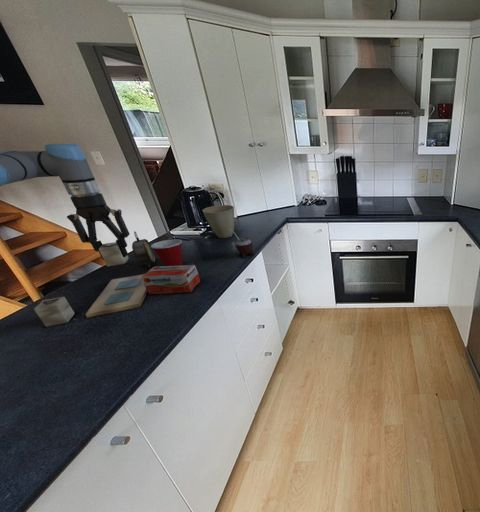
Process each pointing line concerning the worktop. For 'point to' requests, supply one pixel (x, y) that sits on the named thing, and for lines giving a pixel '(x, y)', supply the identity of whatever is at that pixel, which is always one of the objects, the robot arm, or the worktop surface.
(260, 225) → the worktop surface
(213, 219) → the plant pot
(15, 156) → the robot arm
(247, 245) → the mate gourd
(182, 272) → the medicine box
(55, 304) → the tile
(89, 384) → the worktop surface
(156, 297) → the worktop surface
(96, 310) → the beige flat board
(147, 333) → the worktop surface
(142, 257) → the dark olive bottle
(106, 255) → the tile
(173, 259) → the plastic cup
